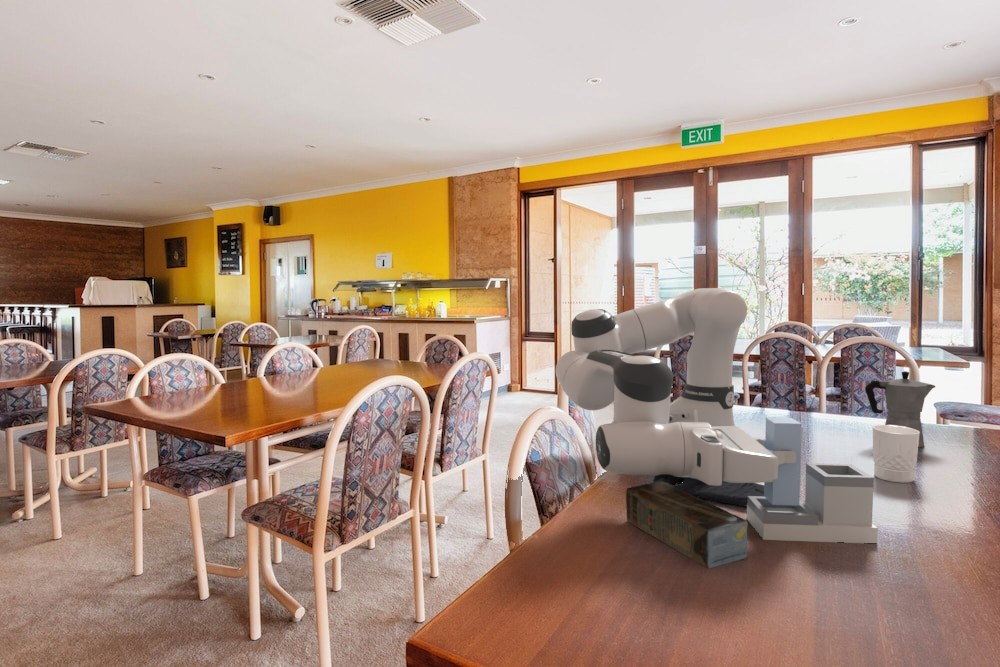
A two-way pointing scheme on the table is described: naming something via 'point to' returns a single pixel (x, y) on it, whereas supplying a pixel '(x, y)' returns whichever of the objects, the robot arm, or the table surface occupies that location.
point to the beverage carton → (687, 523)
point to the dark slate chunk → (714, 489)
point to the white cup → (895, 452)
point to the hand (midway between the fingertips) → (788, 451)
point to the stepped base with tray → (821, 508)
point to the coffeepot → (901, 401)
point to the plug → (788, 482)
